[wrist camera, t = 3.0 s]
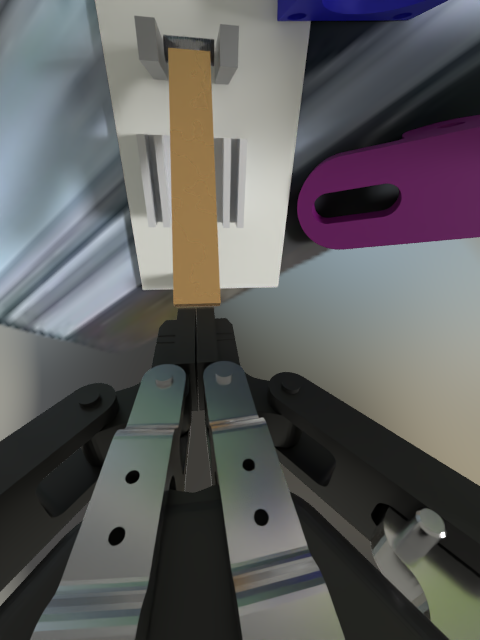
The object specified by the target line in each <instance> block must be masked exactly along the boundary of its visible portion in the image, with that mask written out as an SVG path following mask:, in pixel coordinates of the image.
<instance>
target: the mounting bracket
mask: <svg viewBox="0 0 480 640" xmlns="http://www.w3.org/2000/svg"><path fill="white" fill-rule="evenodd" d="M386 183H389V184H393V185H395V186H397V187H398V188H399V196H398V199H397V201H396V202H395V203H394V204H393V205H392V206H391V207H390V208H388V209H386V210H382V211H375V212H368V213H360V214H353V215H346V216H338V217H331V218H325V217H322V216H320V215H319V214H318V213H317V212H316V210H315V206H314V202H315V200H316V199H317V198H318V197H319V196H321V195H323V194H325V193H331V192H337V191H343V190H349V189H355V188H361V187H367V186H373V185H379V184H386ZM297 213H298V219H299V222H300V225H301V227H302V229H303V231H304V232H305V233H306V235H307V236H308V237H309V238H310V239H311V240H313V241H314V242H315V243H317V244H319V245H321V246H323V247H326V248H330V249H353V248H363V247H375V246H385V245H397V244H408V243H419V242H429V241H440V240H452V239H462V238H473V237H480V115H475V116H468V117H463V118H457V119H452V120H447V121H443V122H438V123H434V124H431V125H427V126H424V127H420V128H417V129H413V130H410V131H408V132H405V133H404V134H402V139H401V140H398V141H393V142H388V143H384V144H379V145H375V146H370V147H365V148H361V149H356V150H351V151H347V152H342V153H338V154H335V155H333V156H331V157H329V158H327V159H325V160H324V161H322V162H321V163H320V164H319V165H317V166H316V167H315V168H314V169H313V171H312V172H311V173H310V174H309V176H308V177H307V179H306V181H305V183H304V184H303V186H302V189H301V191H300V194H299V197H298V204H297Z"/></svg>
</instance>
